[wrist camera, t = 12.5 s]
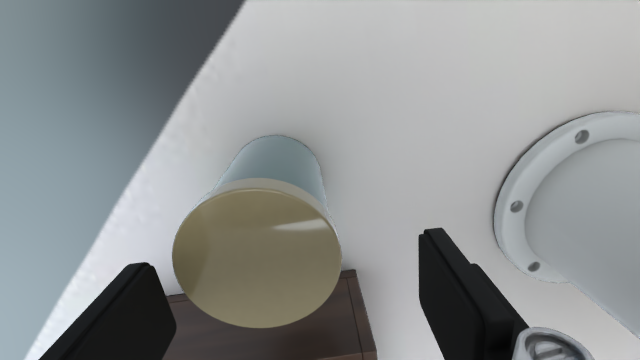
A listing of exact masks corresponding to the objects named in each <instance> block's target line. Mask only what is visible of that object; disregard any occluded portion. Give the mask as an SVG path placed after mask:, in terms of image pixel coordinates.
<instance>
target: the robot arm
mask: <svg viewBox="0 0 640 360" xmlns="http://www.w3.org/2000/svg"><path fill="white" fill-rule="evenodd" d="M494 229H495V236H496V239H497V242H498V245H499V247H500V249H501V250H502V252H503V253H504V255H505V256H506V257H507V258H508V259H509V260H510V261H511V262H512V263H513V264H514V265H515V266H516V267H517V268H518V269H519V270H521V271H522V272H523V273H525V274H526V275H528V276H531V277H533V278H536V279H538V280H541V281H547V282H552V283H571V284H573V285H574V286H575V287H576V288H578V289H579V290H580V291H581V292H582V293H584V294H585V295H586V296H587V297H589V298H590V299H591V300H592V301H594V302H595V303H596V304H597V305H598V306H600V307H601V308H602V309H603V310H605V311H606V312H607V313H608V314H609V315H611V316H612V317H613V318H614V319H616V320H617V321H618V322H619V323H621V324H622V325H623V326H624V327H625V328H627V329H628V330H629V331H630V332H632V333H633V334H634V335H635V336H637V337H638V338H639V339H640V114H637V113H631V112H618V111H608V112H602V113H595V114H590V115H587V116H584V117H581V118H578V119H575V120H572V121H570V122H569V123H567V124H565V125H563V126H561V127H559V128H557V129H555V130H553V131H552V132H551V133H549V134H548V135H546V136H545V137H544V138H542V139H541V140H540V141H538V142H537V143H536V144H535V145H534V146H533V147H532V148H531V149H530V150H529V151H528V152H526V153H525V154H524V155H523V156H522V157H521V159H520V160H519V161H518V163H517V164H516V165H515V167H514V168H513V169H512V171H511V172H510V173H509V175H508V177H507V179H506V181H505V183H504V185H503V186H502V188H501V191H500V194H499V197H498V200H497V203H496V207H495V215H494ZM419 299H420V304H421V307H422V309H423V311H424V314H425V316H426V318H427V321H428V323H429V325H430V327H431V330H432V332H433V334H434V336H435V339H436V341H437V343H438V345H439V348H440V350H441V352H442V354H443V357H444V359H445V360H594V358H593V357H592V355H591V354H590V352H589V351H588V350H587V349H586V348H585V347H584V346H582V345H581V344H580V343H579V342H577V341H576V340H574V339H573V338H571V337H570V336H568V335H566V334H563V333H561V332H559V331H556V330H553V329H549V328H543V327H532V328H530V327H529V326H528V325H527V324H526V322H525V321H524V320H523V319H522V318H521V316H520V315H519V314H518V313H517V311H516V310H515V309H514V308H513V307H512V305H511V304H510V303H509V302H508V301H507V299H506V298H505V297H504V296H503V294H502V293H501V292H500V291H499V290H498V288H497V287H496V286H495V285H494V283H493V282H492V281H491V280H490V279H489V277H488V276H487V275H486V274H485V272H484V271H483V270H482V269H481V268H480V267H479V266H478V265H477V264H470V262H469V261H468V260H467V259H466V257H465V256H464V255H463V254H462V252H461V251H460V250H459V248H458V247H457V246H456V245H455V243H454V242H453V241H452V239H451V238H450V237H449V236H448V234H447V233H446V232H445V231H444V229H443V228H434V229H425V230H424V234H420V235H419ZM176 329H177V324H176V321H175V318H174V316H173V313H172V311H171V308H170V305H169V303H168V300H167V298H166V295H165V293H164V290H163V288H162V285H161V282H160V280H159V277H158V275H157V272H156V270H155V268H154V267H153V266H150V264H149V263H147V262H143V263H135V264H129V265H127V266H126V267H125V268H124V269H123V270H122V271H121V272H120V273H119V274H118V276H117V277H116V278H115V279H114V280H113V281H112V282H111V283H110V284H109V285H108V286H107V287H106V288H105V289H104V290H103V292H102V293H101V294H100V295H99V296H98V297H97V298H96V299H95V300H94V301H93V302H92V303H91V304H90V305H89V306H88V308H87V309H86V310H85V311H84V312H83V313H82V314H81V315H80V316H79V317H78V318H77V319H76V320H75V321H74V322H73V324H72V325H71V326H70V327H69V328H68V329H67V330H66V331H65V332H64V333H63V334H62V335H61V336H60V337H59V338H58V340H57V341H56V342H55V343H54V344H53V345H52V346H51V347H50V348H49V349H48V350H47V351H46V352H45V353H44V354H43V356H42V357H41V358H40V359H39V360H162V359H163V357H164V355H165V353H166V351H167V349H168V347H169V345H170V343H171V341H172V339H173V337H174V335H175V333H176Z"/></svg>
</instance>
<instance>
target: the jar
mask: <svg viewBox="0 0 640 360" xmlns="http://www.w3.org/2000/svg"><path fill="white" fill-rule="evenodd" d="M172 262H173V268H174V273H175V276H176V278H177V281H178V283H179V285H180V287H181V288H182V290H183V292H184V293H185V294H186V296H187V297H188V298H189V299H190V300H191V301H192V302H193V303H194V304H195V305H196V306H197V307H198V308H200V309H201V310H202V311H204V312H205V313H207V314H208V315H210V316H212V317H214V318H216V319H218V320H220V321H223V322H225V323H228V324H232V325H236V326H240V327H247V328H272V327H278V326H283V325H287V324H290V323H293V322H295V321H298V320H300V319H302V318H304V317H306V316H308V315H309V314H311V313H312V312H314V311H315V310H316V309H318V308H319V307H320V306H321V305H322V304H323V303H324V302H325V301H326V300H327V299H328V297H329V296H330V294H331V293H332V292H333V290H334V288H335V286H336V284H337V282H338V279H339V276H340V272H341V266H342V254H341V247H340V242H339V237H338V233H337V230H336V227H335V224H334V222H333V220H332V218H331V216H330V214H329V212H328V206H327V201H326V196H325V190H324V185H323V179H322V174H321V169H320V166H319V163H318V161H317V159H316V157H315V156H314V154H313V153H312V152H311V151H310V150H309V149H308V148H307V147H306V146H305V145H303V144H302V143H300V142H299V141H297V140H295V139H292V138H289V137H285V136H278V135H270V136H264V137H261V138H258V139H255V140H253V141H251V142H250V143H248V144H247V145H246V146H244V147H243V148H242V149H241V150H240V151H239V153H238V154H237V156H236V157H235V158H234V160H233V161H232V163H231V164H230V166H229V167H228V168H227V170H226V171H225V173H224V174H223V176H222V177H221V178H220V180H219V181H218V183H217V184H216V185H215V187H214V188H213V190H212V191H210V192H209V193H208V194H206V195H205V196H204V197H203V198H201V199H200V200H199V201H198V203H197V204H196V205H195V206H194V207H193V208H192V210H191V211H190V212H189V214H188V215H187V216H186V218H185V219H184V221H183V222H182V224H181V225H180V227H179V229H178V231H177V233H176V236H175V239H174V243H173V250H172Z"/></svg>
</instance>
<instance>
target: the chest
mask: <svg viewBox="0 0 640 360" xmlns="http://www.w3.org/2000/svg"><path fill="white" fill-rule="evenodd" d="M166 298H167V300H168V303H169V305H170V308H171V311H172V313H173V316H174V318H175V321H176V324H177V329H176V333H175V335H174V337H173V339H172V341H171V343H170V345H169V347H168V349H167V351H166V353H165V355H164V357H163V359H162V360H377V350H376V347H375V343H374V339H373V335H372V331H371V328H370V324H369V320H368V316H367V312H366V309H365V305H364V301H363V297H362V293H361V290H360V286H359V282H358V278H357V274H356V271H355V270H350V271H343V272H340V276H339V279H338V282H337V284H336V286H335V288H334V290H333V292H332V293H331V294H330V296H329V297H328V299H327V300H326V301H325V302H324V303H323V304H322V305H321V306H320V307H319V308H318V309H316V310H315V311H314V312H312V313H311V314H309V315H308V316H306V317H304V318H302V319H300V320H298V321H295V322H293V323H290V324H287V325H283V326H278V327H272V328H247V327H240V326H236V325H232V324H228V323H225V322H223V321H220V320H218V319H216V318H214V317H212V316H210V315H208V314H207V313H205V312H204V311H202V310H201V309H200V308H198V307H197V306H196V305H195V304H194V303H193V302H192V301H191V300H190V299H189V298H188V297H187V296H186V294H180V295H173V296H166Z"/></svg>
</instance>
